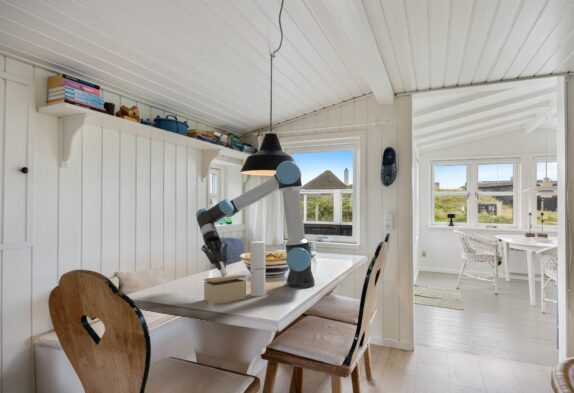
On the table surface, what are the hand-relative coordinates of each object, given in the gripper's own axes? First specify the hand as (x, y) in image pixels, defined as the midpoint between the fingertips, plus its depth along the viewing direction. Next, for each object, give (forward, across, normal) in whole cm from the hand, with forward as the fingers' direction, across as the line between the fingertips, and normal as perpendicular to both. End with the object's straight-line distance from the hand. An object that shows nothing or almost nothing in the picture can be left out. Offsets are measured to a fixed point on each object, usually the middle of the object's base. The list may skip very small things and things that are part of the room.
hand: (224, 275), depth 147 cm
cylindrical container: (+9, -17, -7) cm, 21 cm away
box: (+7, -1, -9) cm, 11 cm away
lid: (+1, -1, -3) cm, 3 cm away
